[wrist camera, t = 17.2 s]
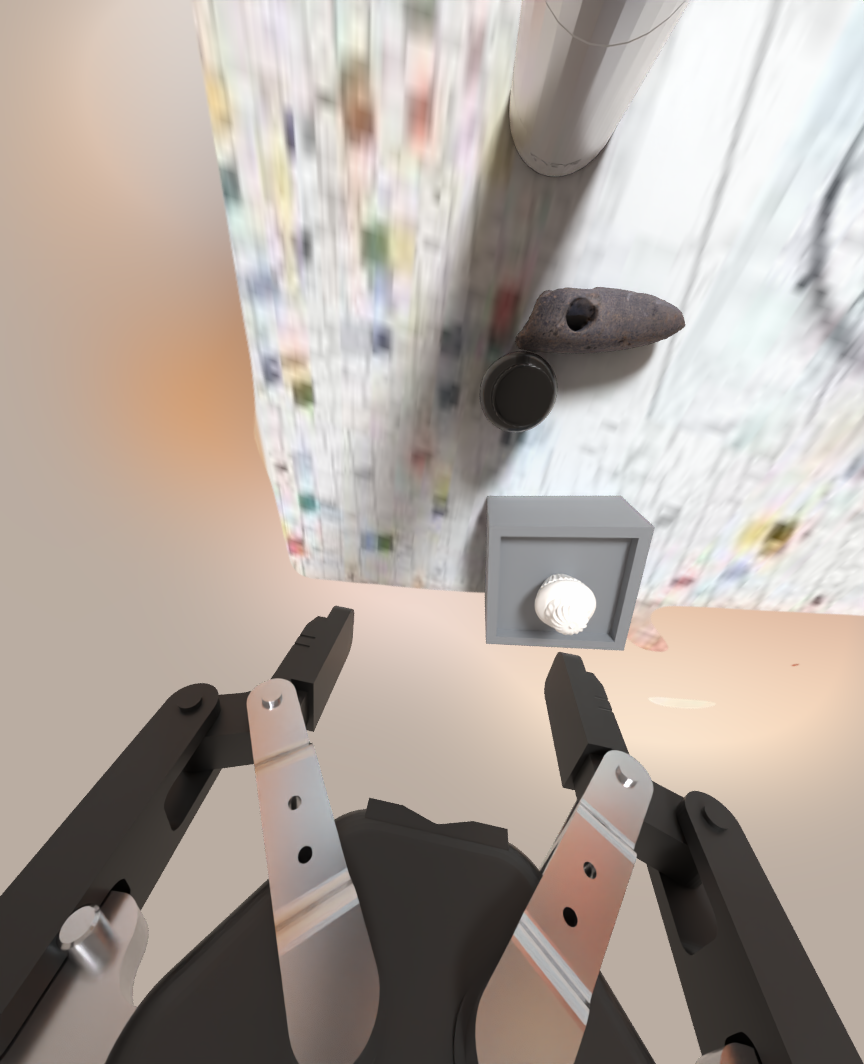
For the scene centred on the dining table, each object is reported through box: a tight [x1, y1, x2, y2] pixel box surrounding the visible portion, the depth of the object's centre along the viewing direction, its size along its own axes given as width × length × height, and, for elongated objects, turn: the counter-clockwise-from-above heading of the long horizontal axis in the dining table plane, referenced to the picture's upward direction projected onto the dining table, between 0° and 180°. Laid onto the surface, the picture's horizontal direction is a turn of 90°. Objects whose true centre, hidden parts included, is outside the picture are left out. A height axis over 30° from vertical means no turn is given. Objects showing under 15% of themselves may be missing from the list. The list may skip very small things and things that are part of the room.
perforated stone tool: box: [515, 287, 685, 353], centre depth 32 cm, size 15×5×7 cm, turn 87°
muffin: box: [535, 574, 596, 635], centre depth 37 cm, size 6×6×7 cm
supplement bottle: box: [480, 351, 557, 432], centre depth 33 cm, size 7×7×12 cm
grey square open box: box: [485, 496, 655, 650], centre depth 43 cm, size 16×16×9 cm
